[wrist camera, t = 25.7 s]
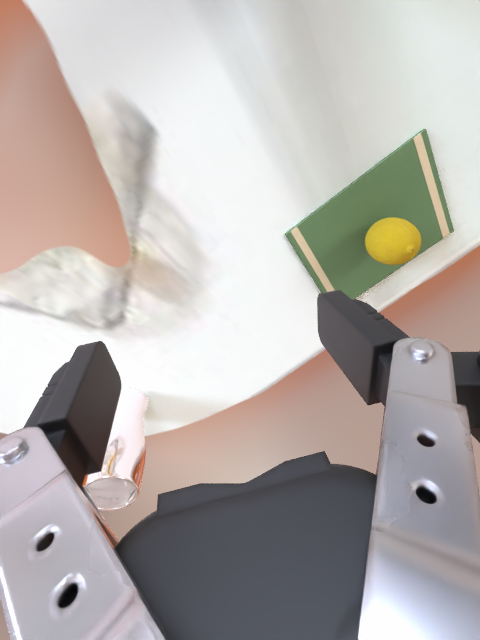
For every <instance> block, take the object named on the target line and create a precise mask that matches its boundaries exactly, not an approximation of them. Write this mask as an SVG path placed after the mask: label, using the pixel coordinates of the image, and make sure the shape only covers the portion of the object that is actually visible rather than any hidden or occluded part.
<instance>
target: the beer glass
mask: <svg viewBox="0 0 480 640" xmlns="http://www.w3.org/2000/svg"><path fill="white" fill-rule="evenodd" d="M148 405H149V401H148V398H147V396H146V395H145V394H144V393H143V392H142V391H140V390H137V389H134V388H124V389H121V393H120V397H119V401H118V405H117V409H116V413H115V417H114V421H113V425H112V429H111V433H110V437H109V441H108V445H107V449H106V453H105V458H104V462H103V466H102V470H101V472H97V473H93V474H89V475H85V479H84V482H83V486H84V488H85V489H86V490H87V492H88V494H89V495H90V497H91V498H92V500H93V501H94V503H95V505H96V506H97V508H98V509H99V510H105V511H111V510H118V509H122V508H124V507H127V506H129V505H131V504H132V503H133V502H135V501H136V499H137V498H138V496H139V493H140V486H141V481H142V476H143V471H144V465H145V453H146V452H145V435H144V416H145V413H146V411H147V408H148Z"/></svg>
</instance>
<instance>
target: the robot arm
mask: <svg viewBox="0 0 480 640" xmlns="http://www.w3.org/2000/svg"><path fill="white" fill-rule="evenodd" d="M317 305H318V333H319V337H320V340H321V342H322V344H323V346H324V347H325V348H326V350H327V351H328V352H329V354H330V355H331V356H332V358H333V359H334V360H335V362H336V363H337V364H338V366H339V367H340V369H342V371H343V373H344V374H345V375H346V377H347V378H348V379H349V381H350V382H351V383H352V385H353V386H354V387H355V389H356V390H357V391H358V393H359V394H360V395H361V397H362V398H363V399H364V401H365V402H366V403H367V405H372V404H375V403H379V402H382V404H383V405H384V406H385V409H384V416H383V424H382V432H381V439H380V447H379V455H378V463H377V470H376V475H375V474H373V473H370V472H368V471H366V470H363V469H360V468H356V467H352V466H347V465H339V464H330V462H329V459H328V457H327V455H326V453H325V451H323V452H319V453H315V454H312V455H308V456H304V457H300V458H296V459H292V460H289V461H285V462H283V463H282V464H279V465H278V466H276V467H274V468H272V469H271V470H269V471H267V472H265V473H263V474H262V475H260V476H258V477H256V478H254V479H253V480H251V481H249V482H246V483H242V484H197V485H193V486H190V487H185V488H182V489H178V490H174V491H170V492H166V493H162V494H158V504H157V511H155V512H153V513H151V514H150V515H148V516H147V517H146V518H144V519H143V520H141V521H140V522H139V523H138V524H137V525H135V526H134V527H133V528H132V529H131V530H130V531H129V532H128V533H127V534H126V535H125V536H124V537H123V538H122V539H121V540H120V541H119V540H118V538H117V537H116V535H115V534H114V533H113V531H112V529H111V528H110V526H109V525H108V523H107V522H106V520H105V519H104V517H103V516H102V514H101V512H100V511H99V509H98V508H97V506H96V505H95V503H94V501H93V500H92V498H91V497H90V495H89V494H88V492H87V490H86V489H85V488H84V486H83V482H84V479H85V475H89V474H93V473H97V472H101V470H102V466H103V462H104V458H105V453H106V449H107V445H108V441H109V437H110V433H111V429H112V425H113V421H114V417H115V413H116V409H117V405H118V401H119V397H120V393H121V380H120V376H119V373H118V371H117V369H116V367H115V365H114V363H113V361H112V358H111V356H110V354H109V352H108V350H107V348H106V346H105V344H104V343H103V342H102V341H99V342H94V343H89V344H85V345H80V346H78V347H77V348H76V350H75V352H74V354H73V356H72V358H71V360H70V362H67V363H65V364H64V365H63V366H62V367H61V368H60V369H59V370H58V371H56V372H55V373H54V375H53V377H52V378H51V380H50V382H49V384H48V387H46V389H45V391H44V392H43V394H42V395H43V397H41V398H40V399H39V401H38V403H37V405H36V406H35V408H34V410H33V412H32V414H31V415H30V417H29V419H28V421H27V422H26V424H25V426H24V428H23V429H20V430H17V431H15V432H13V433H11V434H9V435H7V436H6V437H4V438H3V439H1V440H0V598H1V602H2V607H3V611H4V615H5V618H6V623H7V627H8V631H9V634H10V638H11V640H480V495H479V488H478V481H477V474H476V467H475V461H474V453H473V447H472V440H471V434H472V435H473V436H474V437H475V438H476V439H477V440H478V441H479V442H480V351H479V352H450V351H449V350H448V349H447V348H446V347H445V346H444V345H442V344H441V343H439V342H436V341H434V340H430V339H426V338H421V337H408V336H407V335H406V334H405V333H404V332H402V331H401V330H400V329H399V328H397V327H396V326H395V325H394V324H392V323H391V322H390V321H389V320H388V319H385V318H384V316H383V315H381V314H380V313H377V311H376V310H375V309H374V308H373V307H371V306H370V305H369V304H367V303H364V302H362V301H359V300H357V299H354V300H351V299H350V298H349V297H348V296H347V295H346V294H344V293H343V292H342V291H341V290H334V291H330V292H325V293H321V294H319V295H318V299H317Z"/></svg>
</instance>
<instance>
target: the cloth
mask: <svg viewBox="0 0 480 640" xmlns="http://www.w3.org/2000/svg"><path fill="white" fill-rule="evenodd" d="M390 217H396V218H401V219H404V220H407V221H409V222H410V223H411V224H413V225H414V226H415V227H416V228H417V230H418V231H419V233H420V236H421V245H420V249H419V251H418V253H417V254H416V255H415V256H414V257H413V258H412V259H414V258H415V257H416V256H418V255H419V254H421V253H422V252H424V251H425V250H427V249H428V248H430V247H431V246H433V245H434V244H436V243H437V242H439V241H440V240H441V239H444V238H445V237H447V236H448V235H449V234H450V233H452V232H453V231H454V230H453V226H452V222H451V219H450V215H449V211H448V208H447V204H446V200H445V197H444V193H443V190H442V186H441V182H440V179H439V175H438V171H437V168H436V164H435V160H434V157H433V153H432V150H431V146H430V142H429V139H428V135H427V131H426V129H423V130H422V131H420V132H419V133H418V134H417V135H415V136H414V137H413V138H411V139H410V140H409V141H407V142H406V143H405V144H403V145H402V146H401V147H399V148H398V149H397V150H395V151H394V152H393V153H391V154H390V155H389V156H387V157H386V158H385V159H383V160H382V161H381V162H379V163H378V164H377V165H375V166H374V167H373V168H372V169H370V170H369V171H368V172H366V173H365V174H364V175H362V176H361V177H360V178H358V179H357V180H356V181H354V182H353V183H352V184H350V185H349V186H348V187H346V188H345V189H344V190H342V191H341V192H340V193H338V194H337V195H336V196H334V197H333V198H332V199H331V200H329V201H328V202H327V203H325V204H324V205H323V206H321V207H320V208H319V209H317V210H316V211H315V212H313V213H312V214H311V215H309V216H308V217H307V218H305V219H304V220H303V221H301V222H300V223H299V224H297V225H296V226H295V227H293V228H292V229H291V230H289V231H288V232H287V233H286V234H285V235H286V236H287V238H288V240H289V241H290V243H291V244H292V246H293V248H294V249H295V251H296V252H297V254H298V256H299V257H300V259H301V260H302V262H303V264H304V265H305V267H306V268H307V270H308V272H309V273H310V275H311V276H312V278H313V280H314V281H315V283H316V284H317V286H318V288H319V289H320V291H321V292H322V293H325V292H330V291H334V290H341V291H342V292H343V293H344V294H346V295H347V296H348V297H349V298H350V299H351V300H353V299H355V298H356V297H358V296H359V295H361V294H362V293H364V292H365V291H367V290H368V289H369V288H371V287H372V286H374V285H375V284H377V283H378V282H380V281H381V280H383V279H384V278H386V277H387V276H389V275H390V274H392V273H393V272H394V271H396V270H397V269H399V268H400V267H402V266H403V265H405V264H406V263H408V262H409V261H411V260H412V259H411V260H409V261H408V262H406V263H403V264H399V265H388V264H383V263H381V262H379V261H376V260H375V259H374V258H373V257H371V256H370V255H369V253H368V251H367V250H366V246H365V237H366V234H367V232H368V230H369V229H370V227H371V226H372V225H373V224H374V223H376V222H377V221H379V220H381V219H385V218H390Z"/></svg>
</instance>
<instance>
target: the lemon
mask: <svg viewBox="0 0 480 640" xmlns="http://www.w3.org/2000/svg"><path fill="white" fill-rule="evenodd" d="M420 245H421V236H420V233H419V231H418V230H417V228H416V227H415V226H414V225H413V224H411V223H410V222H409V221H407V220H404V219H401V218H396V217H390V218H385V219H381V220H379V221H377V222H376V223H374V224H373V225H372V226H371V227H370V229H369V230H368V232H367V234H366V237H365V246H366V250H367V251H368V253H369V255H370V256H371V257H373V258H374V259H375V260H376V261H379V262H381V263H383V264H388V265H399V264H403V263H406V262H408V261H409V260H411V259H412V258H413V257H414V256H415V255H416V254H417V253H418V251H419V249H420Z"/></svg>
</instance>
